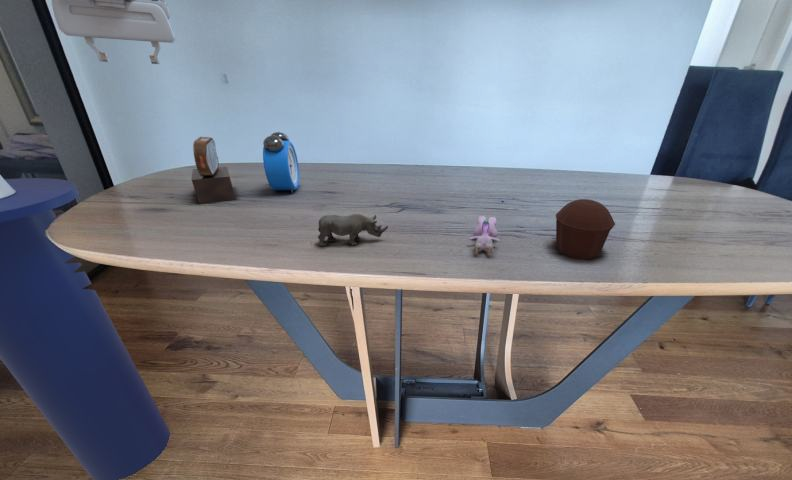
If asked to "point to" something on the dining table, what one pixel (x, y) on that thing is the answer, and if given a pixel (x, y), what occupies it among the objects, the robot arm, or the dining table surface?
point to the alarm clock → (280, 162)
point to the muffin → (582, 228)
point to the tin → (205, 156)
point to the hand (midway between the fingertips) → (131, 62)
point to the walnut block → (213, 186)
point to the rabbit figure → (485, 234)
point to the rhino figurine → (347, 227)
